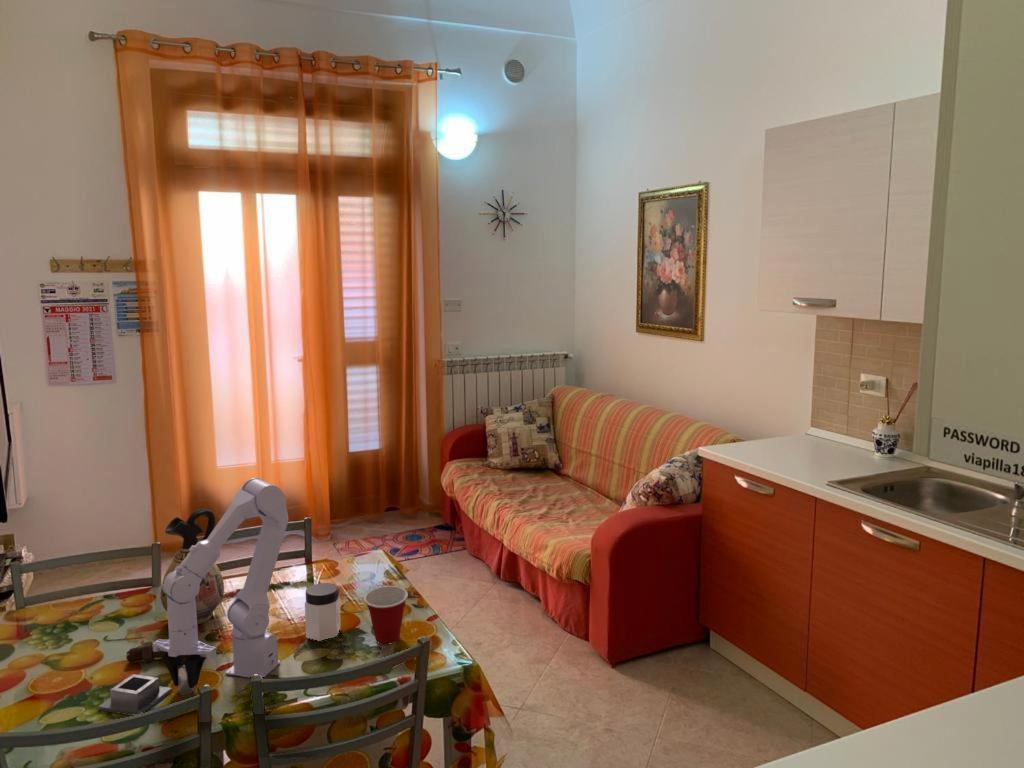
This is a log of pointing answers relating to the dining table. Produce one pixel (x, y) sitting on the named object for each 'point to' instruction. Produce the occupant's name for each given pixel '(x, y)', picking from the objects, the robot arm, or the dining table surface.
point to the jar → (322, 611)
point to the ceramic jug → (188, 531)
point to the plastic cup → (386, 612)
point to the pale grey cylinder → (183, 680)
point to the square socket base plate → (135, 695)
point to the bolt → (144, 653)
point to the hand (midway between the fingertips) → (186, 684)
